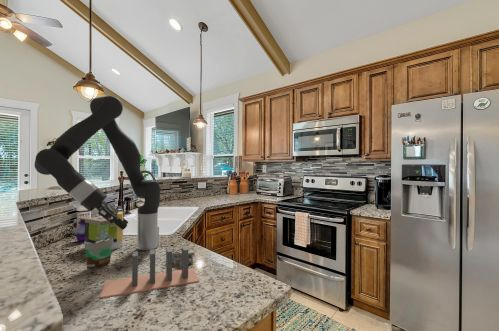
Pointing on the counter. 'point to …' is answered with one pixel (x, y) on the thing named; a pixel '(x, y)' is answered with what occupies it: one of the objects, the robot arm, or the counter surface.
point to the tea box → (100, 231)
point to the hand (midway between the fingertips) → (125, 225)
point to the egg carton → (178, 258)
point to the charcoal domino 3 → (169, 264)
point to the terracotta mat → (146, 283)
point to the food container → (98, 253)
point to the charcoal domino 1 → (135, 269)
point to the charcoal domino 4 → (184, 262)
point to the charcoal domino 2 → (152, 266)
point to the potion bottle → (80, 231)
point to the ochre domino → (119, 230)
